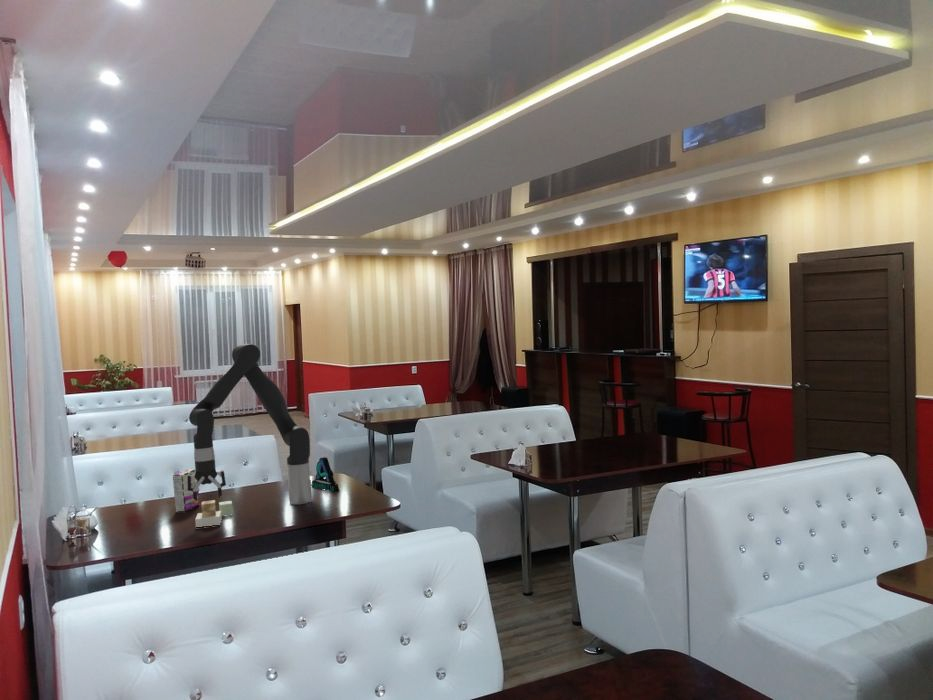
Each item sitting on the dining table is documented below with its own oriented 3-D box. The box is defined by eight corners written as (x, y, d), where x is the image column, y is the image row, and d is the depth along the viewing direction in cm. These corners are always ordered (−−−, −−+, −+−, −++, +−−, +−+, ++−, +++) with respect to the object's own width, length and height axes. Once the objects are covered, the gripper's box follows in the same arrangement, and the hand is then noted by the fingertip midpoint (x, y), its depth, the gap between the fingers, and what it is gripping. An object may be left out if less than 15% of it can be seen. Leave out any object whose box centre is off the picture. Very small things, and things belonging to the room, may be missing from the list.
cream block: (221, 520, 287) (221, 510, 287) (220, 526, 278) (219, 516, 278) (198, 523, 285) (197, 513, 285) (196, 529, 276) (195, 519, 276)
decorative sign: (339, 491, 325) (337, 459, 324) (335, 492, 323) (333, 460, 322) (315, 486, 338) (313, 455, 337) (311, 487, 336) (309, 456, 335)
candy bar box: (190, 505, 313) (187, 468, 312) (200, 505, 312) (197, 468, 311) (174, 512, 302) (172, 474, 301) (185, 512, 301) (182, 474, 300)
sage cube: (232, 512, 298) (231, 500, 297) (232, 515, 293) (232, 503, 293) (219, 514, 296) (218, 502, 296) (220, 517, 291) (219, 505, 291)
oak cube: (215, 512, 285) (214, 500, 285) (215, 515, 280) (214, 502, 280) (202, 514, 283) (201, 501, 283) (202, 517, 278) (201, 504, 278)
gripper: (223, 454, 286) (226, 494, 287) (185, 459, 281) (188, 499, 282) (224, 457, 279) (227, 498, 280) (185, 462, 274) (188, 503, 275)
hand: (207, 498), depth 281 cm, fingers open, 8 cm apart
